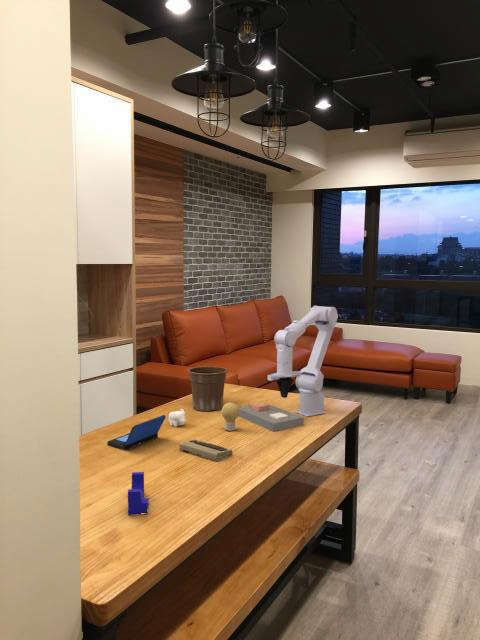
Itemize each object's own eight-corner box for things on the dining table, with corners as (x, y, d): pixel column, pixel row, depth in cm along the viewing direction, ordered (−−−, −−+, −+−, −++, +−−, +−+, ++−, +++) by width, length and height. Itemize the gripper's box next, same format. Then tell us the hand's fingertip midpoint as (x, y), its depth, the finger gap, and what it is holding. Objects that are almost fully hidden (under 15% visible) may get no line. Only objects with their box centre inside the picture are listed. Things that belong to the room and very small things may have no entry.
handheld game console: (139, 433, 189) (138, 407, 188) (167, 440, 182) (167, 414, 181) (105, 445, 177) (104, 418, 176) (134, 454, 169) (133, 425, 168)
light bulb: (239, 427, 196) (240, 400, 194) (238, 433, 189) (238, 405, 188) (222, 426, 196) (222, 400, 195) (220, 432, 190) (220, 405, 189)
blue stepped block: (147, 515, 128) (146, 491, 128) (128, 515, 128) (127, 492, 127) (150, 493, 140) (149, 471, 140) (132, 494, 140) (132, 472, 139)
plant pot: (193, 401, 231) (193, 365, 229) (229, 403, 229) (230, 366, 227) (184, 412, 215) (183, 373, 213) (223, 414, 213) (223, 374, 211)
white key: (279, 420, 203) (280, 412, 203) (288, 423, 199) (288, 415, 199) (269, 422, 201) (269, 414, 200) (277, 425, 196) (277, 417, 196)
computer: (233, 456, 168) (233, 445, 168) (216, 463, 162) (216, 453, 162) (196, 445, 178) (196, 435, 177) (179, 452, 171) (179, 442, 171)
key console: (265, 410, 219) (265, 402, 218) (303, 425, 199) (303, 417, 198) (236, 415, 211) (236, 408, 211) (273, 431, 191) (273, 423, 191)
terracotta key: (261, 409, 213) (261, 402, 213) (268, 412, 209) (269, 404, 209) (251, 411, 210) (251, 403, 210) (258, 414, 206) (258, 406, 206)
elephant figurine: (178, 430, 192) (178, 414, 192) (162, 425, 197) (162, 410, 197) (190, 425, 198) (190, 409, 197) (175, 421, 203) (175, 406, 202)
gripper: (275, 365, 194) (275, 402, 195) (306, 361, 202) (305, 396, 203) (264, 362, 200) (264, 397, 201) (294, 358, 208) (293, 392, 209)
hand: (284, 397), depth 203 cm, fingers closed
